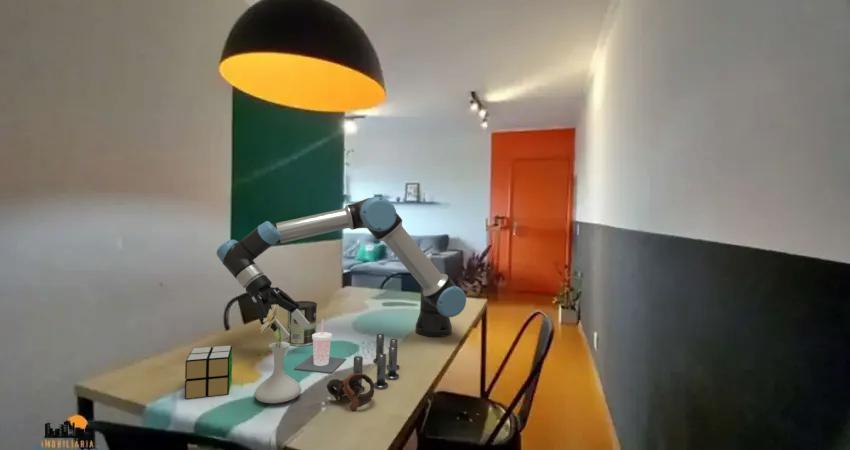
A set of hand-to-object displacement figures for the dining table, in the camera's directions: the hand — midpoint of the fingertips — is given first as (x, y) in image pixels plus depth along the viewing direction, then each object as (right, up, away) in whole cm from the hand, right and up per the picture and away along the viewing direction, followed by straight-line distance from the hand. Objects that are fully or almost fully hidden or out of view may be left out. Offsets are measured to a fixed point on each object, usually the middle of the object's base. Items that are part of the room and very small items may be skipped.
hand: (297, 332), depth 131 cm
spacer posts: (+27, -11, -8) cm, 31 cm away
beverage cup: (+8, -10, -1) cm, 13 cm away
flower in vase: (+3, -11, -25) cm, 28 cm away
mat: (+8, -10, -1) cm, 13 cm away
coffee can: (-5, -9, +21) cm, 23 cm away
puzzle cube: (-17, -10, -21) cm, 29 cm away
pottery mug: (+21, -12, -25) cm, 35 cm away
